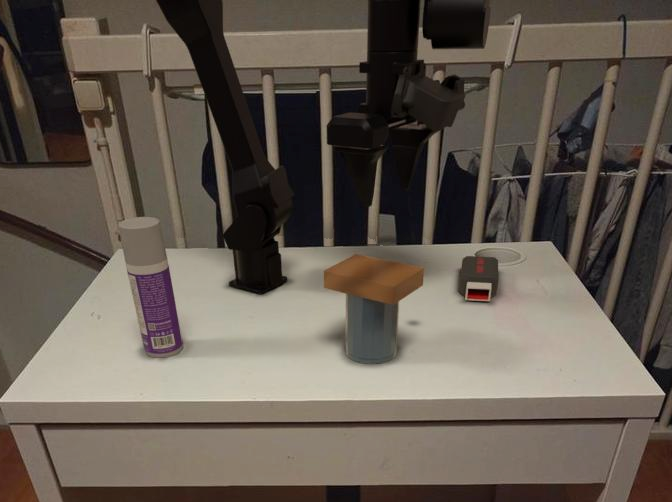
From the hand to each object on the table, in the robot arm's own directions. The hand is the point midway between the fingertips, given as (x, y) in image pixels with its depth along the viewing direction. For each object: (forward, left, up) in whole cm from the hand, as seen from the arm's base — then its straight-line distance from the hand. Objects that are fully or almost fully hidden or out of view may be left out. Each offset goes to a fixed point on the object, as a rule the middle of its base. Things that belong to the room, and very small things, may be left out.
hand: (386, 197), depth 80 cm
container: (-14, -29, -13) cm, 35 cm away
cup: (+8, -16, -13) cm, 22 cm away
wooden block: (+8, -16, -5) cm, 18 cm away
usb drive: (+10, +10, -13) cm, 19 cm away
